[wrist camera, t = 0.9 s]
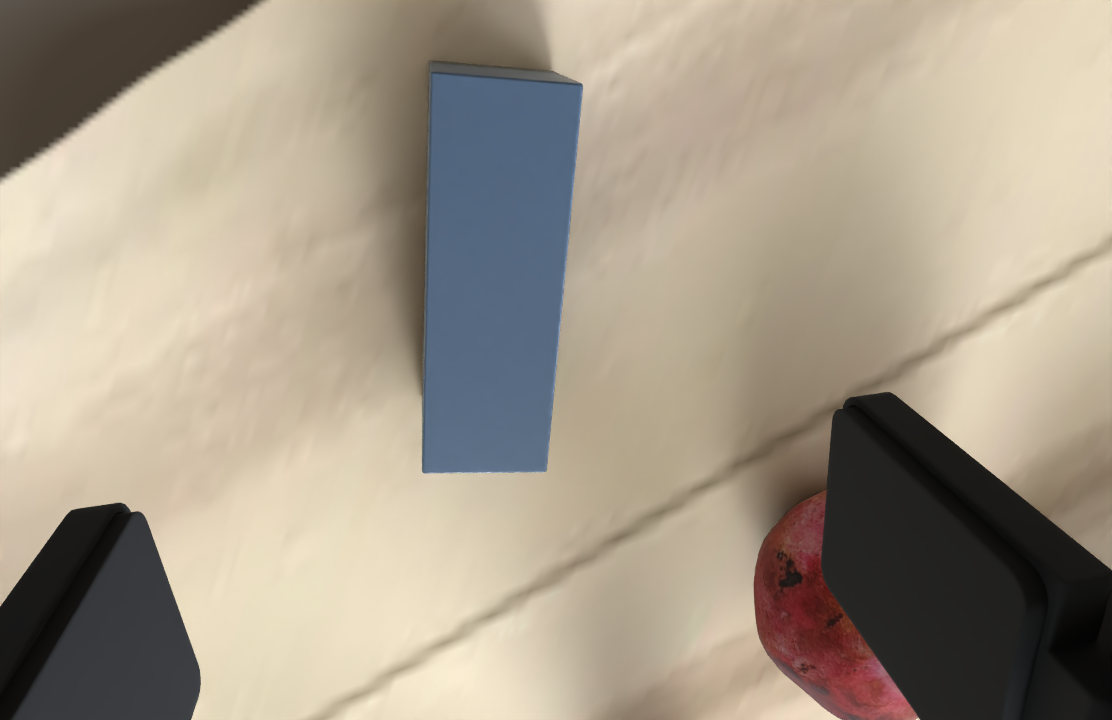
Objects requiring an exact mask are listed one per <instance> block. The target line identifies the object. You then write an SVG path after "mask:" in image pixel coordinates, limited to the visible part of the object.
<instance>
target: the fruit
mask: <svg viewBox="0 0 1112 720" xmlns="http://www.w3.org/2000/svg"><path fill="white" fill-rule="evenodd" d="M826 491H827V490H824V491H822V492H820V493H818V494H816V495H814V496H812V497H810V498H808V499H806V500H804V501H802V502H800V503H799V504H797V505H796V506H794V507H793V508H792V509H791V510H789V511H788V512H787V513H786V514H785V515H784V516H783V517H782V518H781V519H780V520H779V521H778V522H777V523H776V524H775V526H774V527H773V528H772V529H771V531H770V532H769V533H768V535H767V536H766V538H765V539H764V541H763V543H762V546H761V548H760V551H759V555H758V559H757V563H756V568H755V576H754V603H755V616H756V624H757V630H758V635H759V638H760V641H761V643H762V645H763V647H764V649H765V651H766V653H767V654H768V656H769V657H770V658H771V659H772V660H773V662H774V663H775V664H776V665H777V667H778V668H779V669H780V670H781V671H782V672H783V673H784V674H785V675H786V676H787V677H789V678H790V679H791V680H792V681H793V682H794V683H796V684H797V685H798V686H799V687H800V688H802V689H803V690H804V691H805V692H806V693H807V694H808V695H810V696H811V697H812V698H813V699H814V700H815V701H816V702H818V703H819V704H820V705H821V706H822V707H823V708H825V709H826V710H827V711H829V712H830V713H831V714H833V715H834V716H836V717H838V718H840V719H842V720H916V719H917V718H919V717H918V716H917V714H916V713H915V712H914V710H913V709H912V707H911V706H910V704H909V703H908V702H907V700H906V699H905V697H904V696H903V694H902V693H901V692H900V690H899V689H898V687H897V686H896V684H895V683H894V682H893V680H892V679H891V677H890V676H889V674H888V673H887V672H886V670H885V669H884V667H883V666H882V665H881V663H880V662H879V660H878V659H877V657H876V656H875V655H874V653H873V652H872V650H871V649H870V647H869V646H868V645H867V643H866V642H865V640H864V639H863V637H862V636H861V635H860V633H859V632H858V630H857V629H856V627H855V626H854V625H853V623H852V622H851V620H850V619H849V617H848V616H847V615H846V613H845V612H844V610H843V609H842V607H841V606H840V605H839V603H838V602H837V600H836V599H835V598H834V596H833V595H832V593H831V592H830V590H829V589H828V587H827V585H826V583H825V581H824V578H823V574H822V569H821V553H822V541H823V529H824V516H825V504H826Z"/></svg>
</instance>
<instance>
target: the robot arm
mask: <svg viewBox="0 0 1112 720" xmlns="http://www.w3.org/2000/svg"><path fill="white" fill-rule="evenodd" d="M821 569H822V574H823V578H824V581H825V583H826V585H827V587H828V589H829V590H830V592H831V593H832V595H833V596H834V598H835V599H836V600H837V602H838V603H839V605H840V606H841V607H842V609H843V610H844V612H845V613H846V615H847V616H848V617H849V619H850V620H851V622H852V623H853V625H854V626H855V627H856V629H857V630H858V632H859V633H860V635H861V636H862V637H863V639H864V640H865V642H866V643H867V645H868V646H869V647H870V649H871V650H872V652H873V653H874V655H875V656H876V657H877V659H878V660H879V662H880V663H881V665H882V666H883V667H884V669H885V670H886V672H887V673H888V674H889V676H890V677H891V679H892V680H893V682H894V683H895V684H896V686H897V687H898V689H899V690H900V692H901V693H902V694H903V696H904V697H905V699H906V700H907V702H908V703H909V704H910V706H911V707H912V709H913V710H914V712H915V713H916V714H917V716H918V717H919V719H920V720H1112V570H1111V569H1110V568H1108V567H1107V566H1106V565H1105V564H1103V563H1102V562H1101V561H1100V560H1098V559H1097V558H1096V557H1095V556H1094V555H1092V554H1091V553H1090V552H1089V551H1087V550H1086V549H1085V548H1084V547H1082V546H1081V545H1080V544H1079V543H1077V542H1076V541H1075V540H1074V539H1073V538H1071V537H1070V536H1069V535H1068V534H1066V533H1065V532H1064V531H1063V530H1061V529H1060V528H1059V527H1058V526H1056V525H1055V524H1054V523H1053V522H1052V521H1050V520H1049V519H1048V518H1047V517H1045V516H1044V515H1043V514H1042V513H1040V512H1039V511H1038V510H1037V509H1035V508H1034V507H1033V506H1032V505H1030V504H1029V503H1028V502H1027V501H1026V500H1024V499H1023V498H1022V497H1021V496H1019V495H1018V494H1017V493H1016V492H1014V491H1013V490H1012V489H1011V488H1009V487H1008V486H1007V485H1006V484H1005V483H1003V482H1002V481H1001V480H1000V479H998V478H997V477H996V476H995V475H993V474H992V473H991V472H990V471H988V470H987V469H986V468H985V467H983V466H982V465H981V464H980V463H979V462H977V461H976V460H975V459H974V458H972V457H971V456H970V455H969V454H967V453H966V452H965V451H964V450H962V449H961V448H960V447H959V446H958V445H956V444H955V443H954V442H953V441H951V440H950V439H949V438H948V437H946V436H945V435H944V434H943V433H941V432H940V431H939V430H938V429H936V428H935V427H934V426H933V425H932V424H930V423H929V422H928V421H927V420H925V419H924V418H923V417H922V416H920V415H919V414H918V413H917V412H915V411H914V410H913V409H912V408H911V407H909V406H908V405H907V404H906V403H904V402H903V401H902V400H901V399H899V398H898V397H897V396H896V395H894V394H892V393H890V392H884V393H877V394H870V395H863V396H857V397H850V398H848V399H847V400H846V401H845V403H844V405H843V409H838V410H836V411H835V413H834V415H833V419H832V429H831V442H830V454H829V466H828V479H827V491H826V504H825V516H824V529H823V541H822V553H821ZM200 685H201V677H200V669H199V665H198V662H197V660H196V657H195V654H194V651H193V648H192V646H191V643H190V640H189V637H188V634H187V632H186V629H185V626H184V623H183V620H182V618H181V615H180V612H179V609H178V606H177V604H176V601H175V598H174V595H173V592H172V590H171V587H170V584H169V581H168V578H167V576H166V573H165V570H164V567H163V564H162V562H161V559H160V556H159V553H158V550H157V548H156V545H155V542H154V539H153V536H152V534H151V531H150V528H149V525H148V522H147V520H146V518H145V516H144V515H143V514H142V513H141V512H138V511H137V512H131V511H130V509H129V508H128V507H127V506H126V505H125V504H123V503H114V504H107V505H101V506H94V507H87V508H80V509H75V510H71V511H70V512H69V513H68V514H67V515H66V516H65V518H64V519H63V521H62V522H61V523H60V525H59V526H58V527H57V529H56V530H55V532H54V533H53V534H52V536H51V537H50V539H49V540H48V541H47V543H46V544H45V545H44V547H43V548H42V550H41V551H40V552H39V554H38V555H37V557H36V558H35V559H34V561H33V562H32V563H31V565H30V566H29V568H28V569H27V570H26V572H25V573H24V575H23V576H22V577H21V579H20V580H19V581H18V583H17V584H16V586H15V587H14V588H13V590H12V591H11V593H10V594H9V595H8V597H7V598H6V599H5V601H4V602H3V604H2V605H1V606H0V720H191V718H192V715H193V712H194V709H195V706H196V703H197V700H198V697H199V693H200Z"/></svg>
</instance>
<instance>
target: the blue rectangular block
mask: <svg viewBox="0 0 1112 720" xmlns="http://www.w3.org/2000/svg"><path fill="white" fill-rule="evenodd" d="M582 92H583V85H582V84H581V83H579V82H577V81H574V80H572V79H570V78H567V77H565V76H563V75H560V74H558V73H556V72H554V71H549V70H537V69H525V68H513V67H501V66H489V65H477V64H465V63H453V62H441V61H429V85H428V134H427V182H426V231H425V279H424V328H423V376H422V472H423V473H519V472H546V470H547V462H548V451H549V441H550V430H551V420H552V409H553V399H554V388H555V377H556V367H557V356H558V346H559V335H560V324H561V314H562V303H563V293H564V282H565V271H566V261H567V250H568V240H569V229H570V219H571V208H572V197H573V187H574V176H575V166H576V155H577V144H578V134H579V123H580V113H581V102H582Z"/></svg>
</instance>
